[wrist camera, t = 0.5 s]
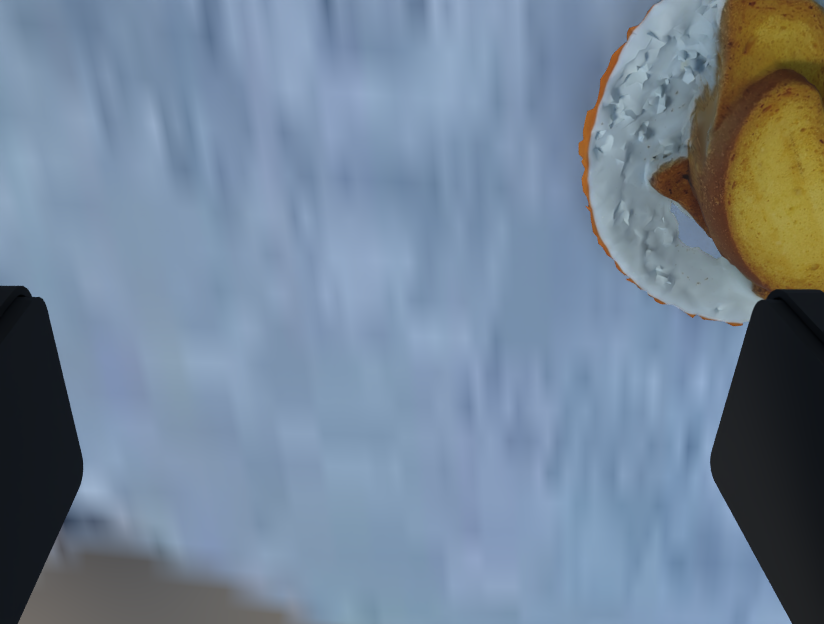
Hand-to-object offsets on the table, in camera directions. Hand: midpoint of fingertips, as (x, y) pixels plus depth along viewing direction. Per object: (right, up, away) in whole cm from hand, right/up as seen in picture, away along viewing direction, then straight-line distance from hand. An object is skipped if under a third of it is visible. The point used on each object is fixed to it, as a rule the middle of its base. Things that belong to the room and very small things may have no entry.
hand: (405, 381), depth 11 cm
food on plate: (+22, +12, +35) cm, 43 cm away
